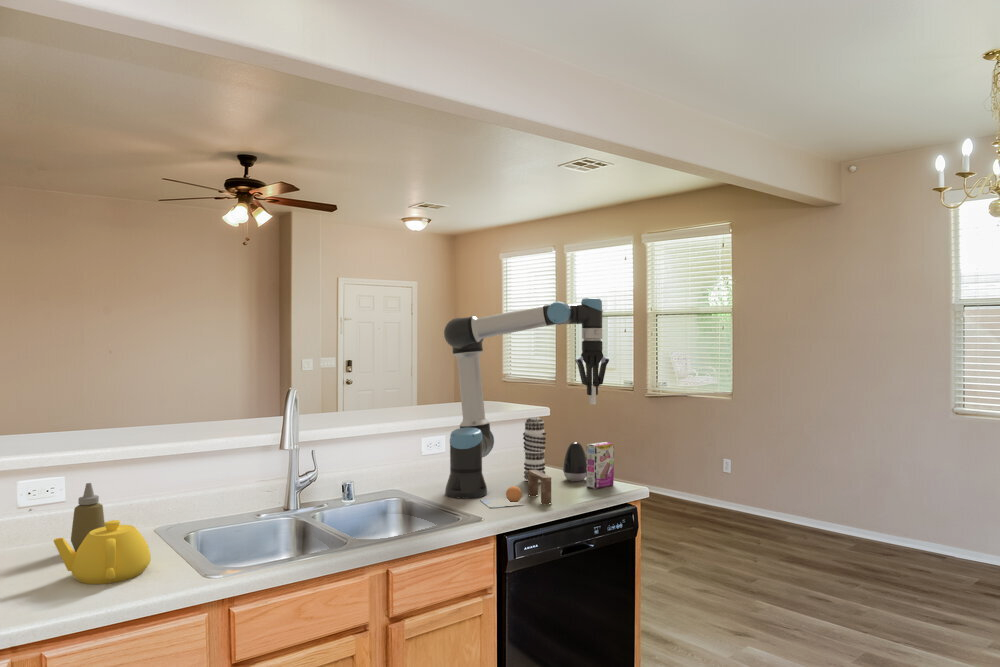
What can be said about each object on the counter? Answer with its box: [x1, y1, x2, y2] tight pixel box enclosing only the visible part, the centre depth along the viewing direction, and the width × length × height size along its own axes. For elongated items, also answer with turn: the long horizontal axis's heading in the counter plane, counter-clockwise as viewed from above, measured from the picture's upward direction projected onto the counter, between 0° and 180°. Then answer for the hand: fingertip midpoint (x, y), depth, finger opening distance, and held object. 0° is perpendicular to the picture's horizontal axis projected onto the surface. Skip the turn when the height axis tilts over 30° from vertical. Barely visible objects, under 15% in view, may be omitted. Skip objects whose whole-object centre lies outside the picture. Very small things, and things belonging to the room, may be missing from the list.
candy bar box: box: [585, 441, 615, 490], centre depth 257 cm, size 11×5×16 cm, turn 132°
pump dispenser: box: [562, 441, 587, 482], centre depth 269 cm, size 10×10×15 cm
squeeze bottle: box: [70, 482, 106, 552], centre depth 179 cm, size 8×8×18 cm
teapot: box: [53, 519, 152, 585], centre depth 160 cm, size 20×19×13 cm
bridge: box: [527, 470, 552, 505], centre depth 235 cm, size 3×14×9 cm, turn 18°
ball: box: [505, 485, 523, 502], centre depth 232 cm, size 6×6×6 cm
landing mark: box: [480, 498, 501, 507], centre depth 231 cm, size 12×12×1 cm
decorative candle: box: [522, 416, 547, 482], centre depth 268 cm, size 9×9×25 cm
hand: (592, 403), depth 247 cm, fingers closed
